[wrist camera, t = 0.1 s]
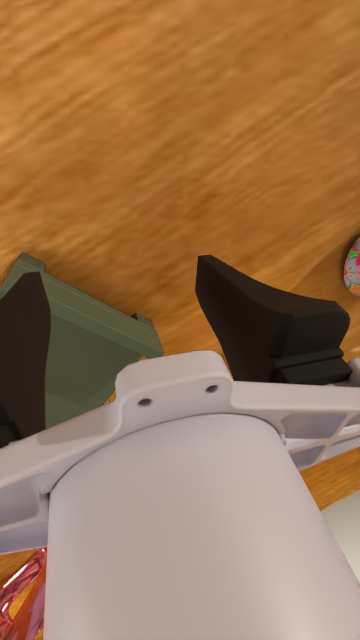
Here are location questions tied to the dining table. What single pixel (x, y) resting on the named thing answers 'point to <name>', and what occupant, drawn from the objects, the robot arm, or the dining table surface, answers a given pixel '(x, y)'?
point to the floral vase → (353, 269)
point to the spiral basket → (19, 633)
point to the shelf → (84, 345)
